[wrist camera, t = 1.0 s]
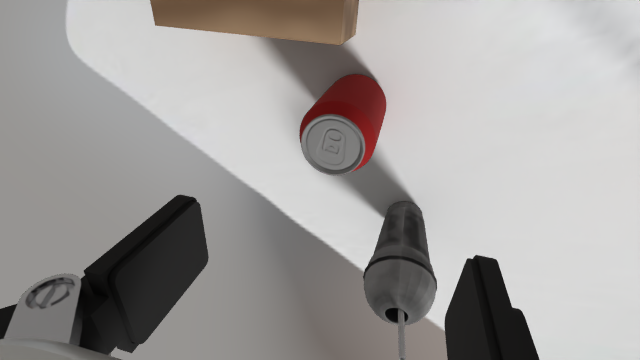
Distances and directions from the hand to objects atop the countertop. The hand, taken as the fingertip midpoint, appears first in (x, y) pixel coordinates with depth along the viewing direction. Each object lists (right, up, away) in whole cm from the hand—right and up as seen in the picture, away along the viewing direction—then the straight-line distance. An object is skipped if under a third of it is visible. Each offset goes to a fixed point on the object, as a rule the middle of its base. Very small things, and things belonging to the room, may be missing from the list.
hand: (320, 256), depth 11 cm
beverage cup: (+11, -2, +31) cm, 33 cm away
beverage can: (+4, +11, +25) cm, 28 cm away
